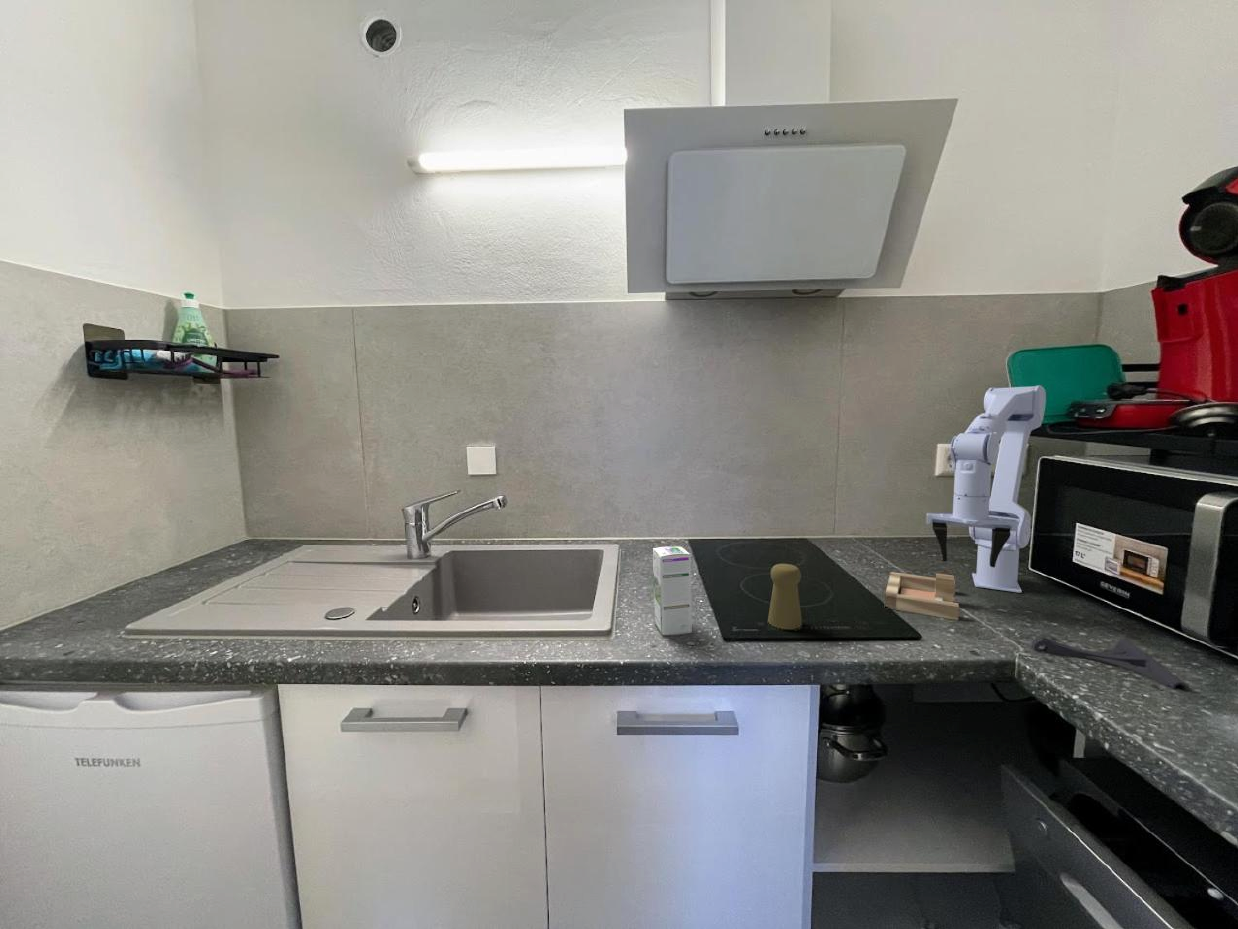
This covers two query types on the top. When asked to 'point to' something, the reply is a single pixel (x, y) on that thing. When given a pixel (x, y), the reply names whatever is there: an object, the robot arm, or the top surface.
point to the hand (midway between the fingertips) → (967, 562)
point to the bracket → (1116, 659)
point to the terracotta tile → (918, 593)
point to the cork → (785, 597)
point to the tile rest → (916, 603)
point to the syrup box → (672, 590)
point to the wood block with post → (944, 587)
